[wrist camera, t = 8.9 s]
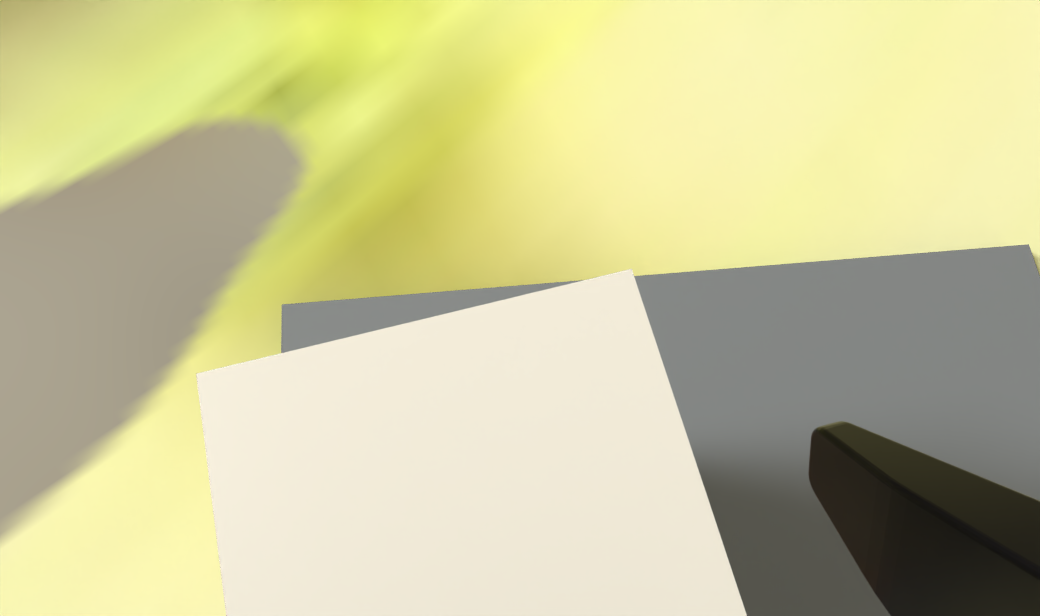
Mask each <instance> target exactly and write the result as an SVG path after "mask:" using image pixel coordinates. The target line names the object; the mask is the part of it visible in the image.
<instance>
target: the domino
mask: <svg viewBox="0 0 1040 616" xmlns="http://www.w3.org/2000/svg"><path fill="white" fill-rule="evenodd" d="M196 376H197V384H198V392H199V400H200V408H201V416H202V424H203V432H204V440H205V448H206V456H207V464H208V472H209V480H210V488H211V496H212V504H213V512H214V520H215V528H216V536H217V544H218V552H219V560H220V568H221V576H222V584H223V592H224V600H225V608H226V616H747V614H746V611H745V608H744V605H743V602H742V599H741V596H740V593H739V590H738V587H737V584H736V581H735V578H734V575H733V572H732V569H731V566H730V563H729V560H728V557H727V554H726V551H725V548H724V545H723V542H722V539H721V536H720V533H719V530H718V527H717V524H716V521H715V518H714V515H713V512H712V509H711V506H710V503H709V500H708V497H707V494H706V491H705V488H704V485H703V482H702V479H701V476H700V473H699V470H698V467H697V464H696V461H695V458H694V455H693V452H692V449H691V446H690V443H689V440H688V437H687V434H686V431H685V428H684V425H683V422H682V419H681V416H680V413H679V410H678V407H677V404H676V401H675V398H674V395H673V392H672V389H671V386H670V383H669V380H668V377H667V374H666V371H665V368H664V365H663V362H662V359H661V356H660V353H659V350H658V347H657V344H656V341H655V338H654V335H653V332H652V329H651V326H650V323H649V320H648V317H647V314H646V311H645V308H644V305H643V302H642V299H641V296H640V293H639V290H638V287H637V284H636V281H635V278H634V275H633V272H632V269H629V270H625V271H621V272H616V273H612V274H608V275H604V276H600V277H596V278H592V279H587V280H583V281H579V282H575V283H571V284H567V285H562V286H558V287H554V288H550V289H546V290H542V291H538V292H533V293H529V294H525V295H521V296H517V297H513V298H509V299H504V300H500V301H496V302H492V303H488V304H484V305H479V306H475V307H471V308H467V309H463V310H459V311H455V312H450V313H446V314H442V315H438V316H434V317H430V318H426V319H421V320H417V321H413V322H409V323H405V324H401V325H396V326H392V327H388V328H384V329H380V330H376V331H372V332H367V333H363V334H359V335H355V336H351V337H347V338H343V339H338V340H334V341H330V342H326V343H322V344H318V345H313V346H309V347H305V348H301V349H297V350H293V351H289V352H284V353H280V354H276V355H272V356H268V357H264V358H260V359H255V360H251V361H247V362H243V363H239V364H235V365H230V366H226V367H222V368H218V369H214V370H210V371H206V372H201V373H197V374H196Z"/></svg>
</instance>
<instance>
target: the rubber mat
mask: <svg viewBox="0 0 1040 616" xmlns="http://www.w3.org/2000/svg"><path fill="white" fill-rule="evenodd" d="M634 278H635V281H636V284H637V287H638V290H639V293H640V296H641V299H642V302H643V305H644V308H645V311H646V314H647V317H648V320H649V323H650V326H651V329H652V332H653V335H654V338H655V341H656V344H657V347H658V350H659V353H660V356H661V359H662V362H663V365H664V368H665V371H666V374H667V377H668V380H669V383H670V386H671V389H672V392H673V395H674V398H675V401H676V404H677V407H678V410H679V413H680V416H681V419H682V422H683V425H684V428H685V431H686V434H687V437H688V440H689V443H690V446H691V449H692V452H693V455H694V458H695V461H696V464H697V467H698V470H699V473H700V476H701V479H702V482H703V485H704V488H705V491H706V494H707V497H708V500H709V503H710V506H711V509H712V512H713V515H714V518H715V521H716V524H717V527H718V530H719V533H720V536H721V539H722V542H723V545H724V548H725V551H726V554H727V557H728V560H729V563H730V566H731V569H732V572H733V575H734V578H735V581H736V584H737V587H738V590H739V593H740V596H741V599H742V602H743V605H744V608H745V611H746V614H747V616H891V615H890V614H889V613H888V611H887V610H886V609H885V607H884V606H883V604H882V603H881V601H880V600H879V599H878V597H877V596H876V594H875V593H874V591H873V590H872V588H871V587H870V585H869V583H868V582H867V580H866V579H865V577H864V575H863V574H862V572H861V570H860V569H859V567H858V565H857V564H856V562H855V560H854V559H853V557H852V555H851V554H850V552H849V550H848V549H847V547H846V545H845V544H844V542H843V540H842V538H841V537H840V535H839V533H838V532H837V530H836V528H835V527H834V525H833V523H832V522H831V520H830V518H829V517H828V515H827V513H826V512H825V510H824V508H823V507H822V505H821V503H820V502H819V500H818V498H817V497H816V495H815V493H814V491H813V489H812V487H811V484H810V481H809V475H808V470H809V457H810V443H811V435H812V432H813V431H814V429H815V428H817V427H820V426H823V425H827V424H831V423H835V422H838V421H845V422H849V423H852V424H854V425H856V426H859V427H861V428H864V429H866V430H869V431H871V432H874V433H876V434H878V435H881V436H883V437H886V438H888V439H891V440H893V441H895V442H898V443H900V444H903V445H905V446H908V447H910V448H913V449H915V450H917V451H920V452H922V453H925V454H927V455H930V456H932V457H935V458H937V459H939V460H942V461H944V462H947V463H949V464H952V465H954V466H956V467H959V468H961V469H964V470H966V471H969V472H971V473H974V474H976V475H978V476H981V477H983V478H986V479H988V480H991V481H993V482H995V483H998V484H1000V485H1003V486H1005V487H1008V488H1010V489H1013V490H1015V491H1017V492H1020V493H1022V494H1025V495H1027V496H1030V497H1032V498H1035V499H1037V500H1039V501H1040V276H1039V273H1038V270H1037V267H1036V264H1035V261H1034V258H1033V255H1032V253H1031V250H1030V247H1029V245H1017V246H1004V247H992V248H980V249H967V250H955V251H942V252H930V253H917V254H905V255H893V256H880V257H868V258H855V259H843V260H830V261H818V262H806V263H793V264H781V265H768V266H756V267H743V268H731V269H719V270H706V271H694V272H681V273H669V274H657V275H644V276H634ZM582 281H583V280H582ZM575 282H579V281H570V282H557V283H545V284H532V285H520V286H507V287H495V288H483V289H470V290H458V291H445V292H433V293H420V294H408V295H396V296H383V297H371V298H358V299H346V300H333V301H321V302H309V303H296V304H284V305H282V340H281V353H284V352H289V351H293V350H297V349H301V348H305V347H309V346H313V345H318V344H322V343H326V342H330V341H334V340H338V339H343V338H347V337H351V336H355V335H359V334H363V333H367V332H372V331H376V330H380V329H384V328H388V327H392V326H396V325H401V324H405V323H409V322H413V321H417V320H421V319H426V318H430V317H434V316H438V315H442V314H446V313H450V312H455V311H459V310H463V309H467V308H471V307H475V306H479V305H484V304H488V303H492V302H496V301H500V300H504V299H509V298H513V297H517V296H521V295H525V294H529V293H533V292H538V291H542V290H546V289H550V288H554V287H558V286H562V285H567V284H571V283H575Z"/></svg>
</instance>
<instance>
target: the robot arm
mask: <svg viewBox="0 0 1040 616" xmlns="http://www.w3.org/2000/svg"><path fill="white" fill-rule="evenodd" d="M808 475H809V481H810V484H811V487H812V489H813V491H814V493H815V495H816V497H817V498H818V500H819V502H820V503H821V505H822V507H823V508H824V510H825V512H826V513H827V515H828V517H829V518H830V520H831V522H832V523H833V525H834V527H835V528H836V530H837V532H838V533H839V535H840V537H841V538H842V540H843V542H844V544H845V545H846V547H847V549H848V550H849V552H850V554H851V555H852V557H853V559H854V560H855V562H856V564H857V565H858V567H859V569H860V570H861V572H862V574H863V575H864V577H865V579H866V580H867V582H868V583H869V585H870V587H871V588H872V590H873V591H874V593H875V594H876V596H877V597H878V599H879V600H880V601H881V603H882V604H883V606H884V607H885V609H886V610H887V611H888V613H889V614H890V615H891V616H1040V501H1039V500H1037V499H1035V498H1032V497H1030V496H1027V495H1025V494H1022V493H1020V492H1017V491H1015V490H1013V489H1010V488H1008V487H1005V486H1003V485H1000V484H998V483H995V482H993V481H991V480H988V479H986V478H983V477H981V476H978V475H976V474H974V473H971V472H969V471H966V470H964V469H961V468H959V467H956V466H954V465H952V464H949V463H947V462H944V461H942V460H939V459H937V458H935V457H932V456H930V455H927V454H925V453H922V452H920V451H917V450H915V449H913V448H910V447H908V446H905V445H903V444H900V443H898V442H895V441H893V440H891V439H888V438H886V437H883V436H881V435H878V434H876V433H874V432H871V431H869V430H866V429H864V428H861V427H859V426H856V425H854V424H852V423H849V422H845V421H838V422H835V423H831V424H827V425H823V426H820V427H817V428H815V429H814V431H813V432H812V435H811V443H810V457H809V470H808Z"/></svg>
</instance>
